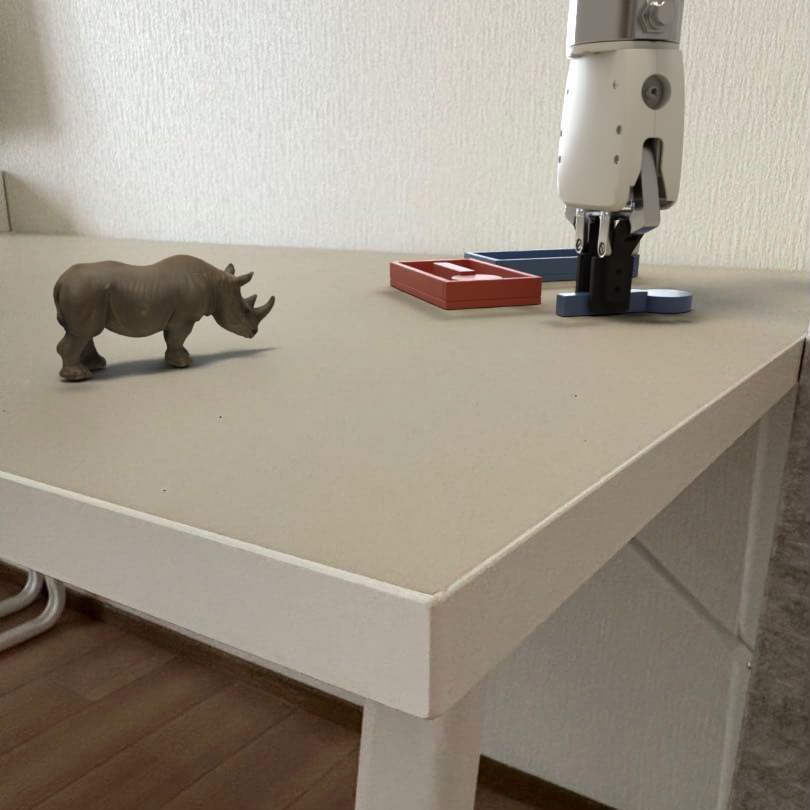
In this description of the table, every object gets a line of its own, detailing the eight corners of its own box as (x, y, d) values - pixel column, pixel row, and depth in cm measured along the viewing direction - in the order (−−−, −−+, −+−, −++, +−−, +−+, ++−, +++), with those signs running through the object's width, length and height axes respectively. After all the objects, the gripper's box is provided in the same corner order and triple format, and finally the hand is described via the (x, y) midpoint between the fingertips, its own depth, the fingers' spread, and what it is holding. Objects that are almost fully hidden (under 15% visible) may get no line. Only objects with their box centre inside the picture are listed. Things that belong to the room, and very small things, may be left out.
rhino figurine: (296, 353, 54) (290, 250, 51) (68, 385, 47) (48, 267, 44) (265, 342, 57) (258, 245, 55) (46, 371, 50) (27, 260, 47)
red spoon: (418, 280, 80) (418, 263, 80) (461, 278, 81) (461, 261, 81) (461, 297, 71) (462, 277, 70) (509, 294, 72) (510, 275, 71)
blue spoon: (572, 319, 64) (574, 298, 63) (547, 311, 68) (548, 291, 67) (702, 311, 67) (704, 291, 67) (671, 303, 71) (673, 284, 70)
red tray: (389, 285, 82) (389, 261, 81) (471, 281, 84) (472, 258, 83) (445, 309, 69) (446, 281, 68) (541, 304, 71) (542, 277, 70)
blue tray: (596, 267, 94) (598, 247, 93) (638, 276, 86) (640, 254, 86) (463, 273, 89) (463, 252, 89) (495, 284, 82) (496, 260, 81)
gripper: (744, 18, 54) (705, 323, 61) (613, 46, 67) (594, 293, 75) (636, 13, 52) (609, 330, 59) (524, 44, 65) (513, 298, 73)
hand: (601, 308), depth 67 cm, fingers closed on blue spoon, 1 cm apart
